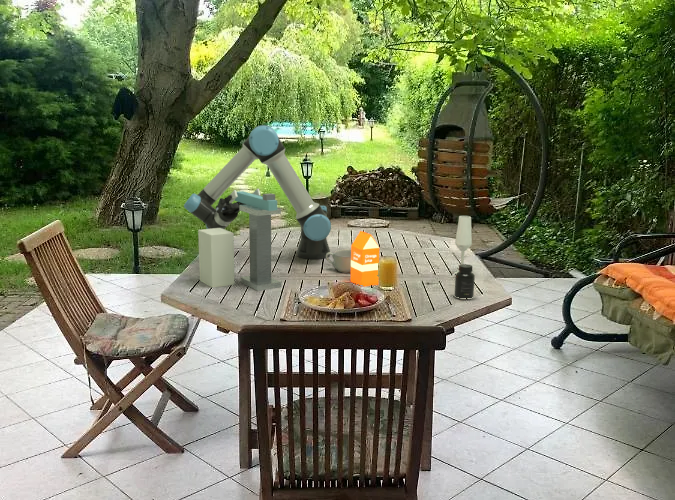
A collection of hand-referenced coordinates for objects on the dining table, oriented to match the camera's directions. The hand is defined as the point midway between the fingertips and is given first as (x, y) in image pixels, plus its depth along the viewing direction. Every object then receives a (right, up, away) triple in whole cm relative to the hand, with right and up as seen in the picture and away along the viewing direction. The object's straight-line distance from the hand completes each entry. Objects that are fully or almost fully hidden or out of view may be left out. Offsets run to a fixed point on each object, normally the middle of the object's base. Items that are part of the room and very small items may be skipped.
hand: (247, 192), depth 246 cm
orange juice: (+45, -35, +5) cm, 57 cm away
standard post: (+5, -35, -1) cm, 35 cm away
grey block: (-12, -34, +1) cm, 36 cm away
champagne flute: (+86, -32, +20) cm, 94 cm away
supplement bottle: (+80, -39, -12) cm, 90 cm away
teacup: (+36, -31, +22) cm, 53 cm away
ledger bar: (+3, -5, -4) cm, 7 cm away
